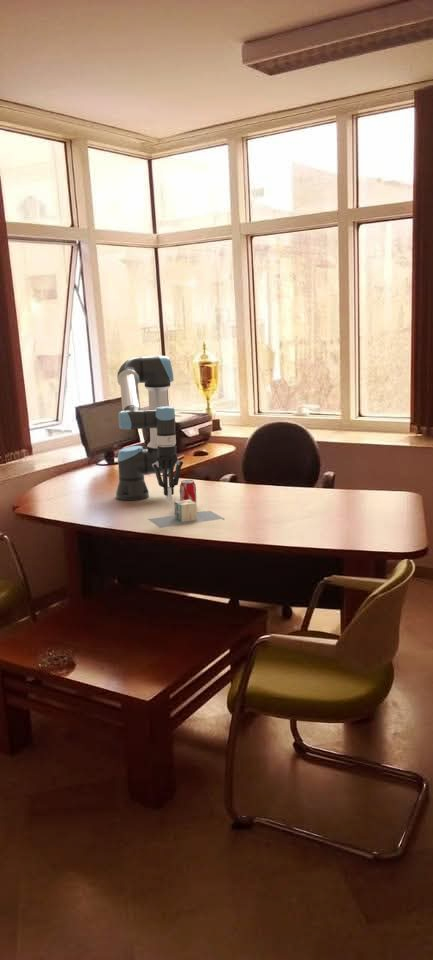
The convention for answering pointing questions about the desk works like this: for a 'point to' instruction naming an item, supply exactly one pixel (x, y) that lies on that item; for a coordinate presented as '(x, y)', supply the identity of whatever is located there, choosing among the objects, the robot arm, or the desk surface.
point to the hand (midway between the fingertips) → (169, 502)
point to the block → (185, 510)
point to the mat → (173, 521)
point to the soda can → (188, 490)
